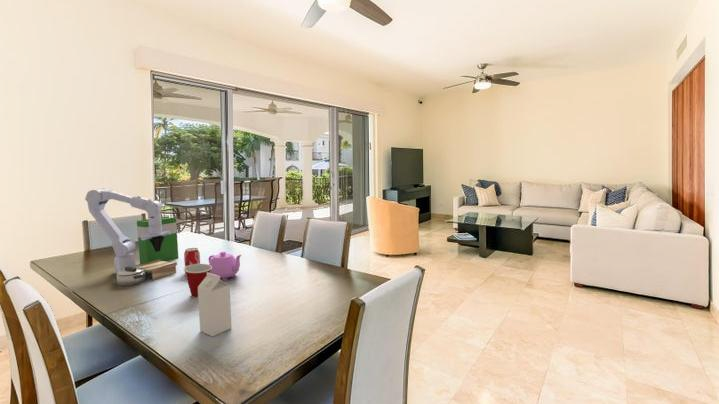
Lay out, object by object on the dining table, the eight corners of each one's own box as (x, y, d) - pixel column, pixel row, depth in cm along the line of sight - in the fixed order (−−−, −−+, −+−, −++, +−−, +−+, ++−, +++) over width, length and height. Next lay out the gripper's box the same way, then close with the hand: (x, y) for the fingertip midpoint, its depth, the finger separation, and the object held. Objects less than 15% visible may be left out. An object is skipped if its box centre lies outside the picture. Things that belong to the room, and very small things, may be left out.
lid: (111, 273, 160) (111, 269, 160) (135, 267, 169) (134, 263, 169) (126, 276, 155) (126, 272, 155) (149, 270, 165) (149, 266, 165)
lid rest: (135, 276, 171) (134, 266, 171) (160, 268, 183) (159, 259, 182) (153, 279, 166) (152, 269, 165) (177, 272, 177) (177, 262, 177)
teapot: (252, 275, 172) (251, 250, 171) (232, 284, 159) (231, 257, 158) (219, 271, 179) (218, 247, 178) (197, 279, 166) (196, 254, 164)
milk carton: (219, 323, 121) (216, 269, 119) (231, 328, 117) (229, 273, 115) (199, 331, 115) (196, 275, 113) (212, 337, 111) (209, 279, 109)
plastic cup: (201, 300, 140) (199, 271, 139) (179, 298, 143) (177, 269, 142) (219, 291, 151) (217, 264, 149) (198, 288, 154) (196, 262, 152)
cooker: (109, 283, 161) (108, 273, 161) (133, 276, 171) (132, 267, 170) (129, 288, 155) (128, 278, 154) (153, 280, 165) (152, 271, 164)
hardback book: (170, 256, 207) (168, 216, 205) (178, 258, 204) (175, 217, 201) (139, 263, 192) (136, 220, 189) (147, 265, 188) (144, 221, 186)
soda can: (194, 275, 173) (193, 251, 171) (182, 274, 174) (180, 250, 173) (203, 270, 180) (202, 247, 178) (191, 269, 181) (190, 247, 180)
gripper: (146, 227, 168) (149, 255, 170) (173, 222, 181) (175, 248, 183) (137, 227, 171) (139, 254, 173) (164, 222, 184) (166, 247, 186)
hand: (157, 251), depth 178 cm, fingers closed
